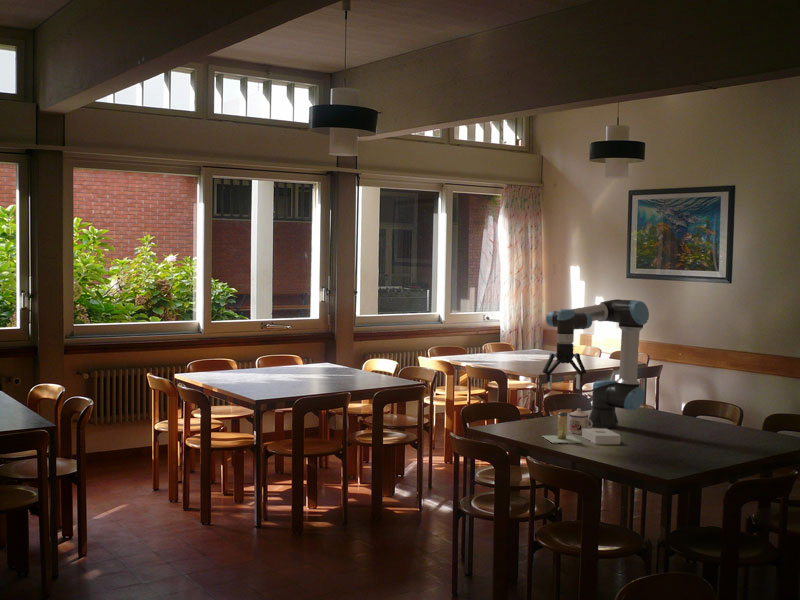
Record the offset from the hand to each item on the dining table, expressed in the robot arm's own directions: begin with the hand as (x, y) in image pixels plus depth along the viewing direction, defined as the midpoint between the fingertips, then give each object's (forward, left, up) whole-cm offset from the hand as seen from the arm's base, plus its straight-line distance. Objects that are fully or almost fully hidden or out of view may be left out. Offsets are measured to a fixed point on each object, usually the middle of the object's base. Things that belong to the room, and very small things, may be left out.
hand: (563, 389), depth 376 cm
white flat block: (0, +19, -24) cm, 30 cm away
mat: (0, 0, -24) cm, 24 cm away
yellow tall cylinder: (0, 0, -23) cm, 23 cm away
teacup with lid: (-17, +16, -24) cm, 33 cm away
